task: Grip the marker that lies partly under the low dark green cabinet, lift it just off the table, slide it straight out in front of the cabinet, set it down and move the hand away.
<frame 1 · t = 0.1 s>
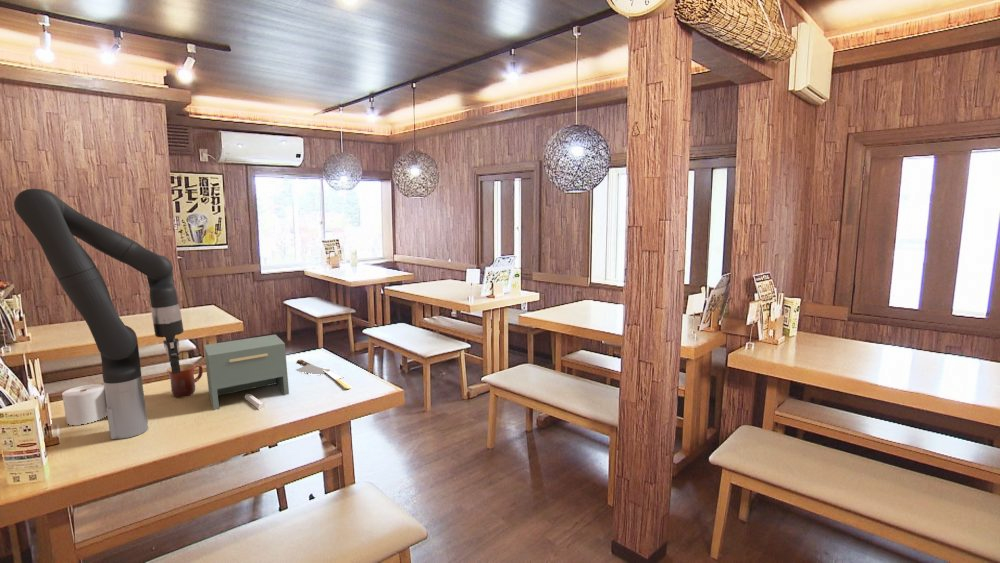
hand: (175, 369, 161), 17 cm above the table, tool pointing down, fingers open, 8 cm apart
mug: (188, 393, 188), on the table
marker: (253, 404, 178), on the table
cabinet: (249, 394, 185), on the table
knife: (336, 377, 202), on the table, touching kitchen cleaver
toilet tissue: (90, 419, 167), on the table
kitchen cleaver: (307, 370, 214), on the table, touching knife
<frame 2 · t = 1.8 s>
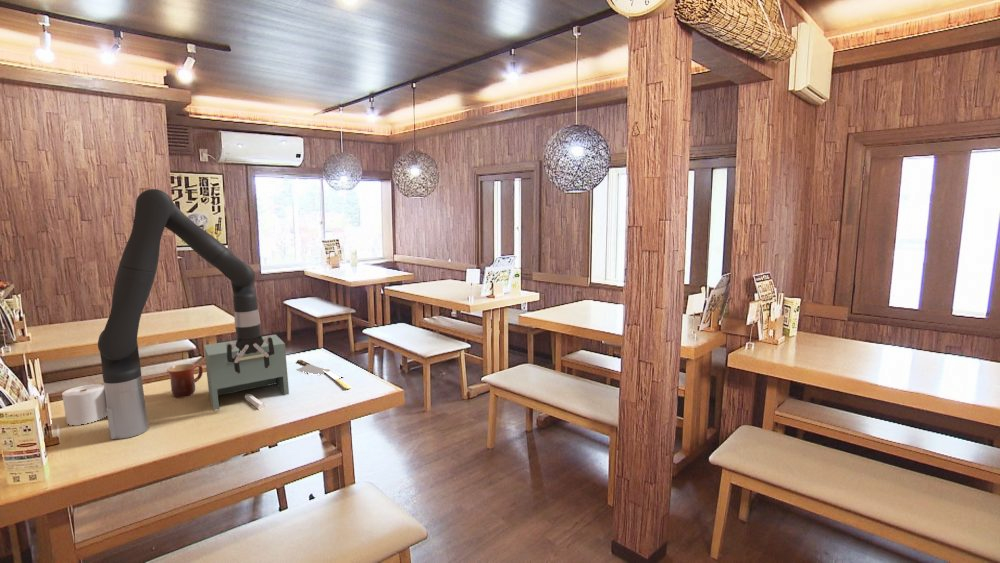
hand: (252, 370, 172), 13 cm above the table, tool pointing down, fingers open, 8 cm apart
nothing on the table moved.
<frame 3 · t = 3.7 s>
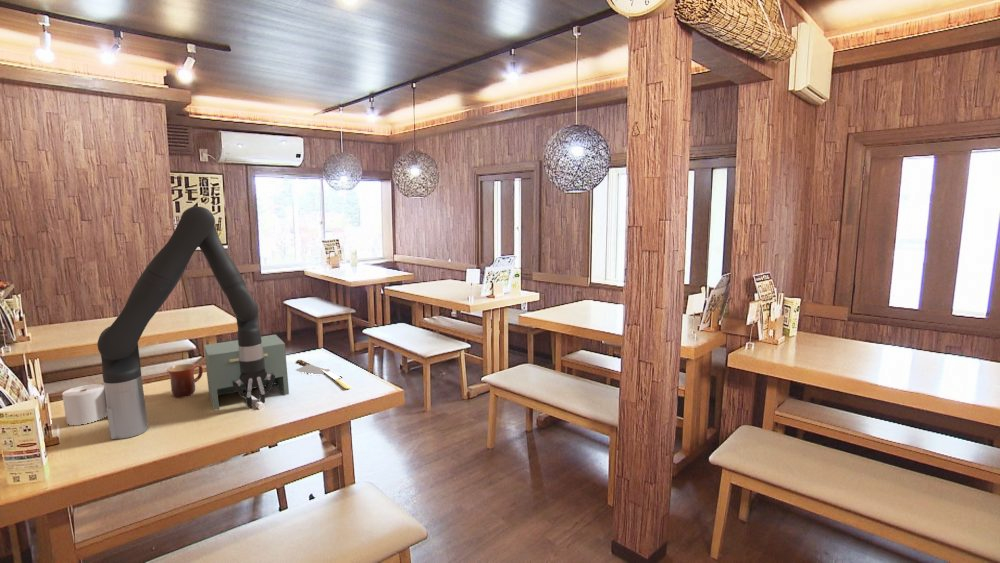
hand: (256, 405, 174), 0 cm above the table, tool pointing down, fingers open, 3 cm apart
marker: (253, 404, 178), on the table, touching gripper
everything else where it was.
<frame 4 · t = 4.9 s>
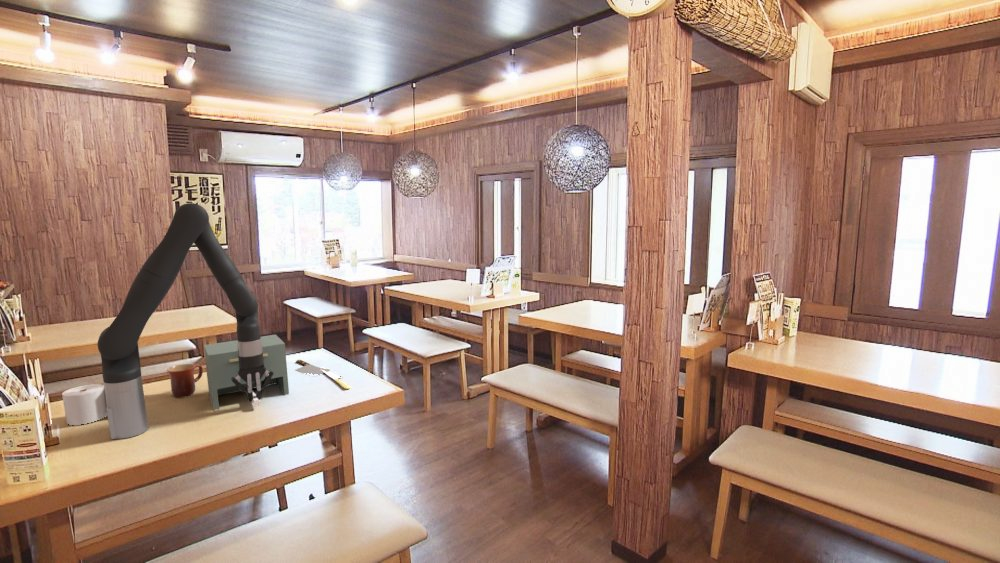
hand: (254, 401, 174), 2 cm above the table, tool pointing down, fingers closed on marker, 1 cm apart
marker: (252, 400, 177), point 1 cm above the table, touching gripper
knife: (335, 377, 202), on the table
kitchen cleaver: (306, 370, 214), on the table
everything else where it was.
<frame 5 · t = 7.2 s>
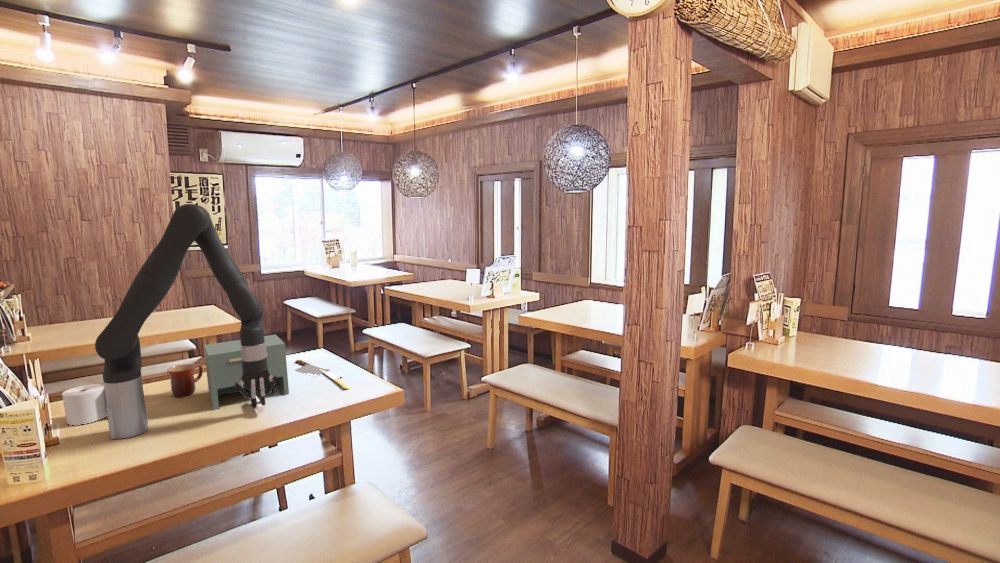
hand: (258, 407, 168), 2 cm above the table, tool pointing down, fingers closed on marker, 1 cm apart
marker: (256, 405, 172), point 1 cm above the table, touching gripper
knife: (334, 378, 202), on the table, touching kitchen cleaver
kitchen cleaver: (306, 370, 214), on the table, touching knife
everything else where it was.
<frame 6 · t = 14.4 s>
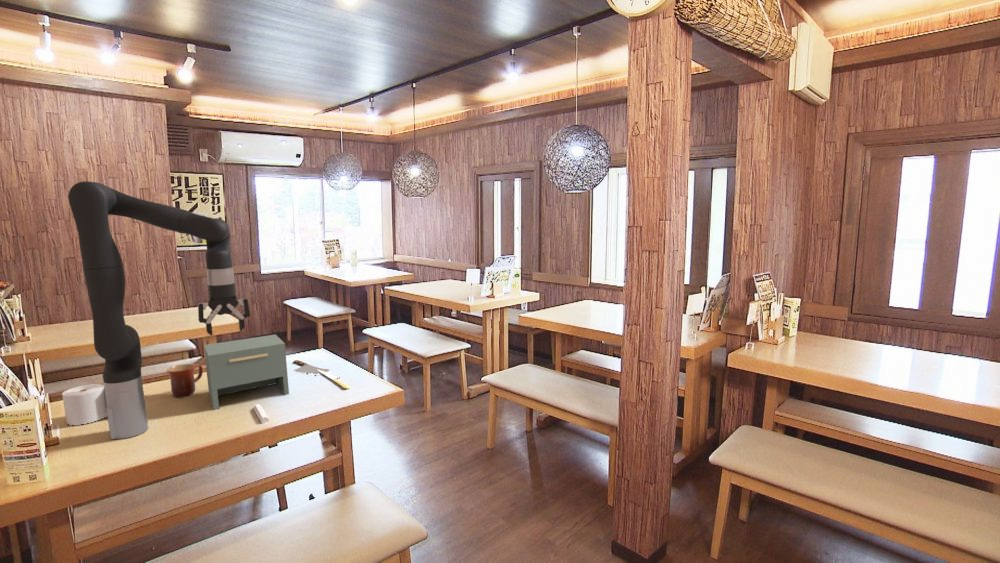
hand: (226, 332, 162), 28 cm above the table, tool pointing down, fingers open, 8 cm apart
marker: (260, 415, 168), on the table
at the end: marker inside the target area (1.5 cm from its centre), on the table; the gripper is holding nothing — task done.
